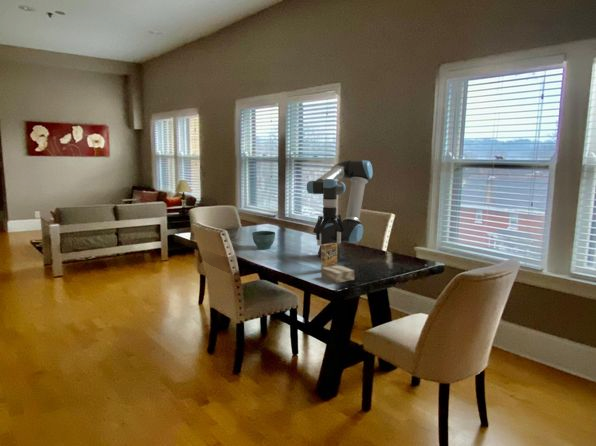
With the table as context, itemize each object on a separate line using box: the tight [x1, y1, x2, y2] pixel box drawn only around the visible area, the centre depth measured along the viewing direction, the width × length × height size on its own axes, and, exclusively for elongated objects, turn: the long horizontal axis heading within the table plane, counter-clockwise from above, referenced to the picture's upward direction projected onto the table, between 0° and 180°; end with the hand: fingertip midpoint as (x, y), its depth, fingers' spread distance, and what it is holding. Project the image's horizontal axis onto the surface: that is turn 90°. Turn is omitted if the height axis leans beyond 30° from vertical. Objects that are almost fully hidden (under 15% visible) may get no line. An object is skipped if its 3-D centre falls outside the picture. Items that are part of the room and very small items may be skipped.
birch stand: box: [320, 264, 356, 284], centre depth 230 cm, size 12×13×5 cm
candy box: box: [320, 243, 338, 269], centre depth 246 cm, size 9×4×15 cm, turn 125°
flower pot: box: [251, 230, 276, 250], centre depth 304 cm, size 16×16×11 cm
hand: (329, 244), depth 244 cm, fingers open, 13 cm apart
